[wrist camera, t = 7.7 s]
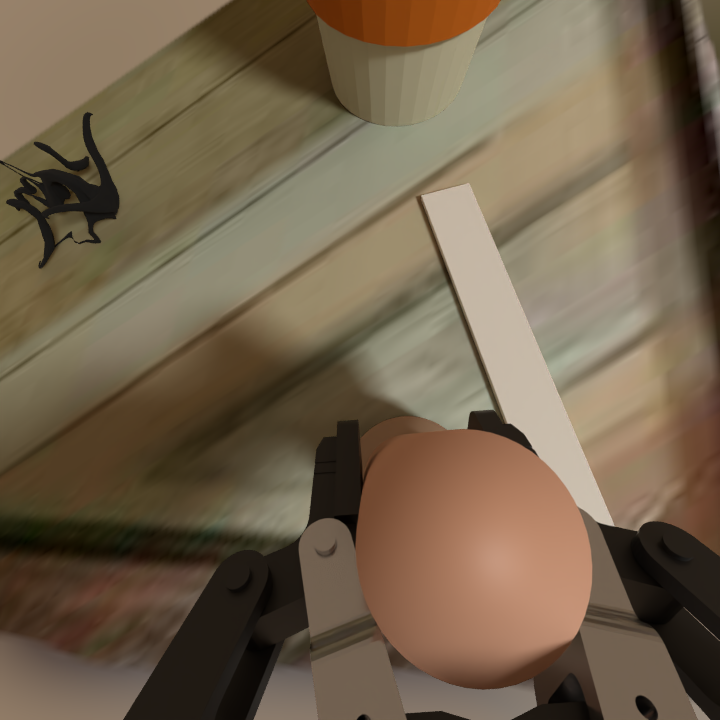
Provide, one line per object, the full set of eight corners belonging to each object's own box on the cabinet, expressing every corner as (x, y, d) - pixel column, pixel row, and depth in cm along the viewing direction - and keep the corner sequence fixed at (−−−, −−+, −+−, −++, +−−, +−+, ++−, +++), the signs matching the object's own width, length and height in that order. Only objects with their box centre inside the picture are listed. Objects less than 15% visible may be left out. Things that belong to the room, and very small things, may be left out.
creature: (30, 276, 21) (123, 278, 18) (-102, 221, 16) (2, 215, 13) (73, 174, 22) (163, 165, 20) (-34, 96, 17) (69, 71, 15)
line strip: (553, 551, 15) (556, 553, 15) (420, 198, 20) (421, 195, 19) (613, 533, 15) (618, 535, 15) (467, 186, 20) (469, 182, 19)
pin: (365, 558, 14) (357, 804, 5) (334, 434, 16) (279, 431, 6) (483, 523, 15) (707, 691, 5) (443, 404, 16) (559, 353, 6)
